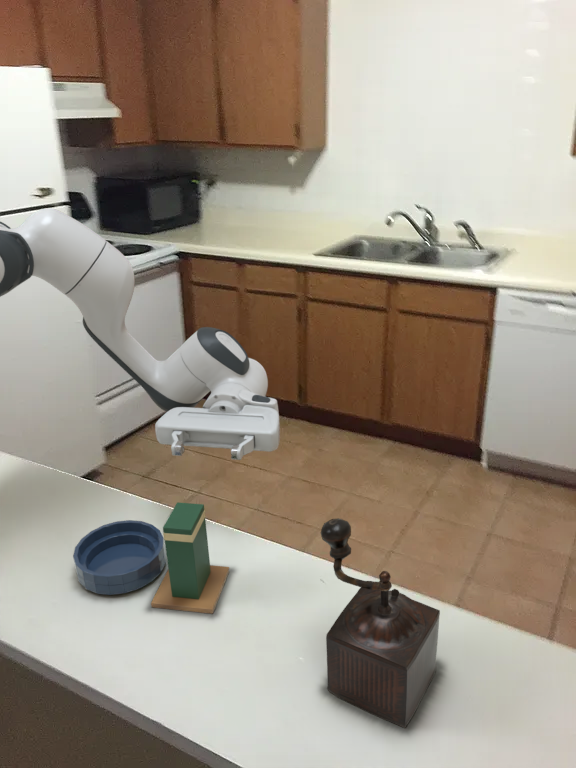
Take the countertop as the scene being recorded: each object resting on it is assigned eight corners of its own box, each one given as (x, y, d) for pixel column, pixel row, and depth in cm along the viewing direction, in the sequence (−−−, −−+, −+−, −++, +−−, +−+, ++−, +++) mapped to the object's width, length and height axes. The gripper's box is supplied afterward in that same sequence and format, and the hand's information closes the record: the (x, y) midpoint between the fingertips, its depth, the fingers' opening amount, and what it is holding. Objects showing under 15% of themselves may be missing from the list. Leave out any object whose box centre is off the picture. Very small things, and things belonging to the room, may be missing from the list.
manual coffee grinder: (440, 663, 83) (450, 546, 76) (406, 731, 75) (412, 607, 67) (331, 618, 91) (330, 508, 84) (288, 675, 83) (283, 558, 75)
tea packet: (171, 597, 95) (162, 527, 90) (184, 568, 100) (176, 501, 95) (199, 600, 94) (191, 530, 89) (211, 571, 99) (204, 503, 95)
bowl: (62, 593, 97) (57, 571, 96) (100, 537, 109) (97, 517, 108) (147, 602, 95) (144, 580, 93) (177, 544, 107) (175, 523, 105)
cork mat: (151, 607, 94) (150, 602, 94) (172, 565, 102) (172, 561, 102) (212, 613, 93) (212, 609, 92) (229, 571, 101) (229, 566, 100)
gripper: (169, 393, 115) (138, 431, 102) (286, 399, 111) (269, 439, 99) (172, 425, 117) (143, 466, 105) (287, 433, 114) (270, 476, 101)
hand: (205, 453), depth 102 cm, fingers open, 8 cm apart
